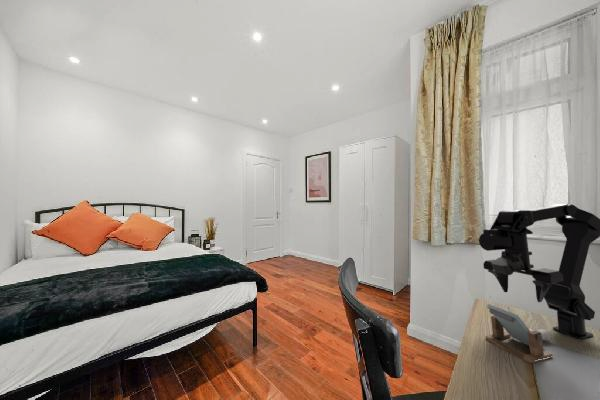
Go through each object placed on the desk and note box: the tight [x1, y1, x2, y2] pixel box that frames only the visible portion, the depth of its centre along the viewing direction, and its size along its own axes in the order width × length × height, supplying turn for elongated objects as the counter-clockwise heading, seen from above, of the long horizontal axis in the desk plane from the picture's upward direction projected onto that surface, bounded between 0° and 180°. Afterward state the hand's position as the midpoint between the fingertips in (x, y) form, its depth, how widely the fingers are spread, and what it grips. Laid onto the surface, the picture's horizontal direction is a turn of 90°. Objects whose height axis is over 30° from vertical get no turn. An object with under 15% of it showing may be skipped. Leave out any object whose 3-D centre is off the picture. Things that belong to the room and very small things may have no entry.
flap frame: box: [485, 315, 553, 364], centre depth 67 cm, size 8×12×7 cm, turn 12°
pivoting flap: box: [486, 303, 546, 351], centre depth 67 cm, size 14×8×2 cm
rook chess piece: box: [528, 327, 553, 342], centre depth 69 cm, size 4×4×8 cm
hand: (521, 296), depth 73 cm, fingers open, 9 cm apart
